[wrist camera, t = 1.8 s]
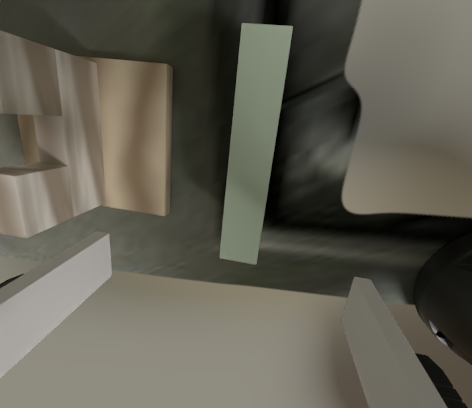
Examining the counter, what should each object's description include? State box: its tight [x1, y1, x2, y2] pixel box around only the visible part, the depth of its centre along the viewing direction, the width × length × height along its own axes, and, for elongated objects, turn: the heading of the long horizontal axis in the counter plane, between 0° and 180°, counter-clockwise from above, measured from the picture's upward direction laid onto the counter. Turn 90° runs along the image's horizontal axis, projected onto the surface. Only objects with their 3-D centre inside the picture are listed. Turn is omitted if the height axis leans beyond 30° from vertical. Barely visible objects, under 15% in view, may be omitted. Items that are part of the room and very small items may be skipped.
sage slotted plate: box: [219, 23, 293, 265], centre depth 22 cm, size 16×3×10 cm, turn 174°
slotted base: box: [0, 30, 173, 238], centre depth 24 cm, size 18×16×12 cm
